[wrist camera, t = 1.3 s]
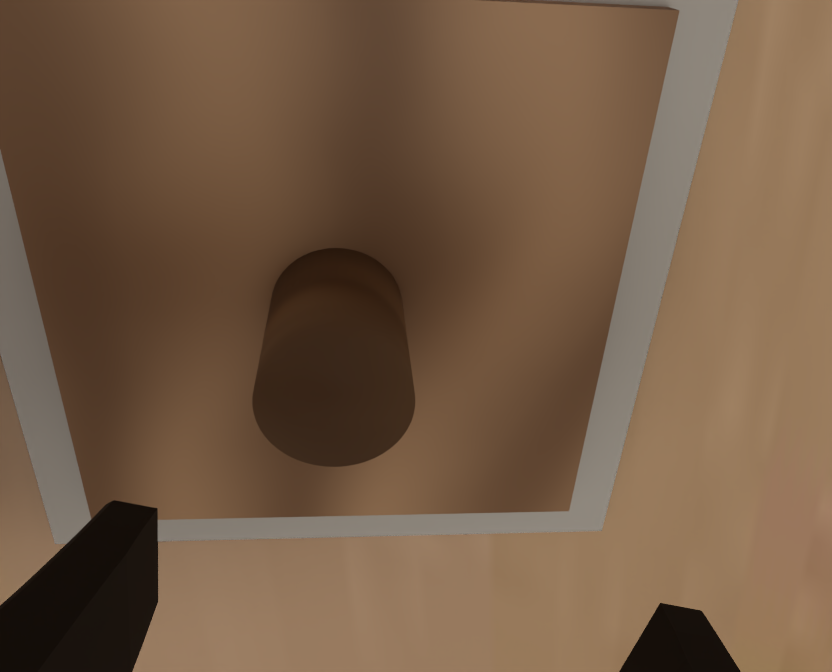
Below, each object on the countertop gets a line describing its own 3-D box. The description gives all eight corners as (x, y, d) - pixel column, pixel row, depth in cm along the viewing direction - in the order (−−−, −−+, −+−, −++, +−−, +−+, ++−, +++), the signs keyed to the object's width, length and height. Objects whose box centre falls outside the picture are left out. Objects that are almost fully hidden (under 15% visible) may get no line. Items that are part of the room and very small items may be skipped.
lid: (98, 506, 21) (40, 644, 17) (-29, -28, 14) (-178, -3, 10) (564, 497, 22) (610, 623, 18) (668, 6, 15) (781, 41, 11)
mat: (59, 534, 22) (54, 543, 22) (-126, -125, 13) (-139, -126, 13) (598, 521, 24) (601, 530, 23) (747, -71, 15) (756, -71, 15)
